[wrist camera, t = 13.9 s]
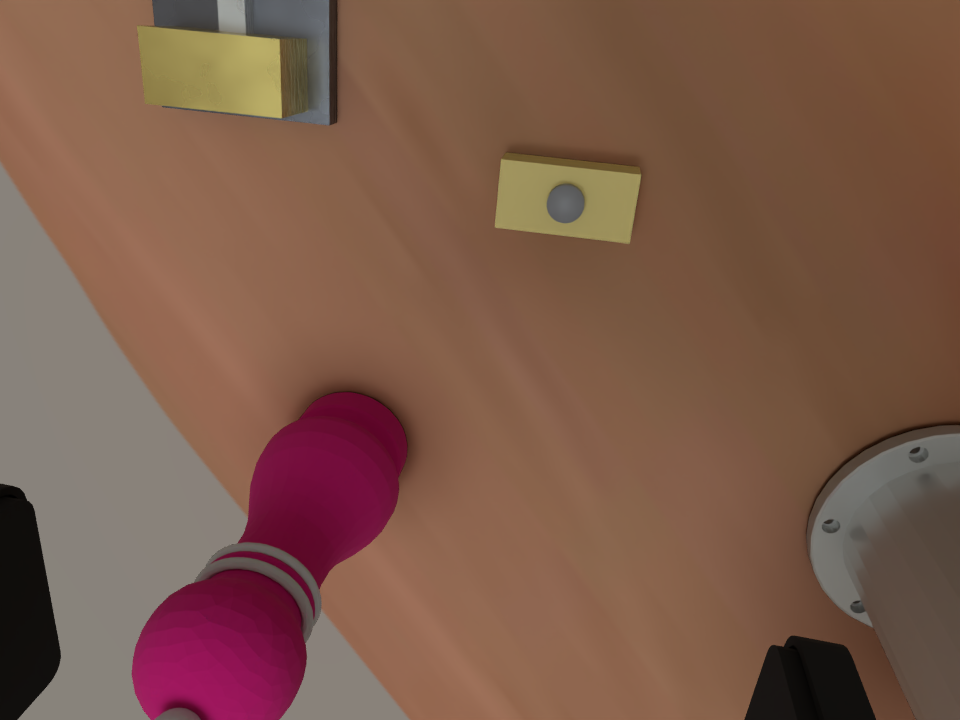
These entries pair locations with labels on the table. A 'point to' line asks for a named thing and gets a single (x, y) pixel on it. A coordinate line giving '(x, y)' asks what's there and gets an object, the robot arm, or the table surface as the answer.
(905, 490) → the robot arm
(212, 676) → the pepper mill
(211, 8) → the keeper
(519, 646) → the table surface
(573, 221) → the block
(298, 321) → the table surface
